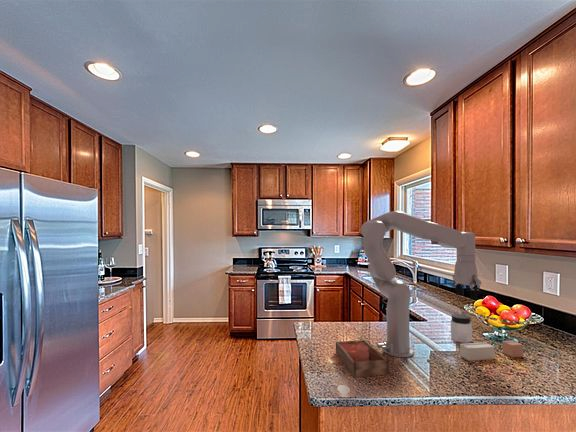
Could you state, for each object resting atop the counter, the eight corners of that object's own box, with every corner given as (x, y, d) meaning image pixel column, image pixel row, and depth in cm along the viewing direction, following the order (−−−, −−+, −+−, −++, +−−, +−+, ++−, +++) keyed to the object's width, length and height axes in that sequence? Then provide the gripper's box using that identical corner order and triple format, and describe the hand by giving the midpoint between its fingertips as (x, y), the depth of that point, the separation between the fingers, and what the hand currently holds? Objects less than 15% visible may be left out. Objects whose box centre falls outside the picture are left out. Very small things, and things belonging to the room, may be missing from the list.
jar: (465, 345, 146) (464, 319, 147) (448, 340, 153) (447, 315, 154) (475, 341, 151) (474, 316, 152) (458, 337, 158) (457, 312, 159)
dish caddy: (353, 376, 116) (353, 363, 116) (335, 353, 138) (335, 341, 138) (388, 374, 118) (388, 360, 118) (365, 351, 140) (364, 339, 140)
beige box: (468, 360, 128) (468, 348, 128) (460, 355, 133) (459, 343, 133) (494, 358, 130) (494, 346, 130) (485, 354, 135) (485, 342, 135)
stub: (512, 357, 131) (511, 344, 131) (502, 352, 136) (502, 340, 136) (522, 356, 132) (522, 344, 132) (512, 352, 137) (512, 340, 137)
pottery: (339, 354, 138) (339, 331, 138) (359, 352, 139) (359, 330, 139) (353, 372, 120) (353, 346, 120) (377, 370, 121) (376, 345, 122)
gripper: (446, 257, 151) (446, 293, 151) (472, 261, 134) (472, 301, 133) (460, 257, 152) (460, 293, 152) (487, 261, 135) (488, 301, 134)
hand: (466, 297), depth 142 cm, fingers open, 9 cm apart
